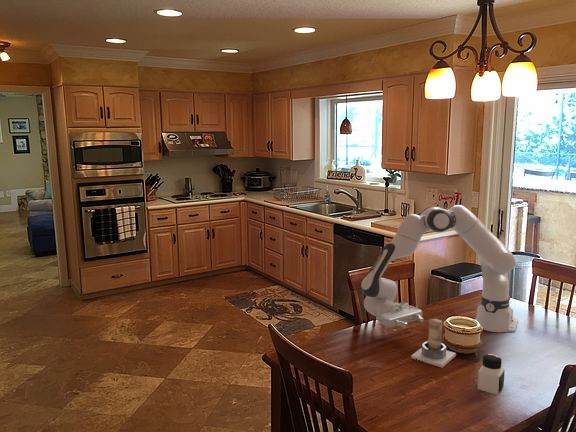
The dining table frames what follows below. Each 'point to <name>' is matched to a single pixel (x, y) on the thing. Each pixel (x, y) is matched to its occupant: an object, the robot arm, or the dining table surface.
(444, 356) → the socket board
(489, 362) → the medicine bottle
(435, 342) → the wooden pin
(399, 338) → the dining table surface
